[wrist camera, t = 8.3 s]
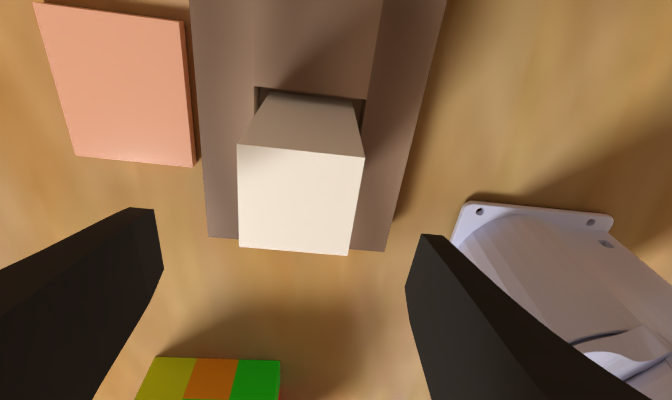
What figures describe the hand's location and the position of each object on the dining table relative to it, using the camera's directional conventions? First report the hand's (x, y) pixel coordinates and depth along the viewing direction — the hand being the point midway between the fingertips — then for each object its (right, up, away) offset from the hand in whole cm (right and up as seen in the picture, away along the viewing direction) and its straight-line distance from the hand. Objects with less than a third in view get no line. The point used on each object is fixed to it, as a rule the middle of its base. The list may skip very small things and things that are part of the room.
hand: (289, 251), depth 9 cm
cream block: (0, +5, +8) cm, 10 cm away
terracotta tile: (-9, +7, +7) cm, 13 cm away
